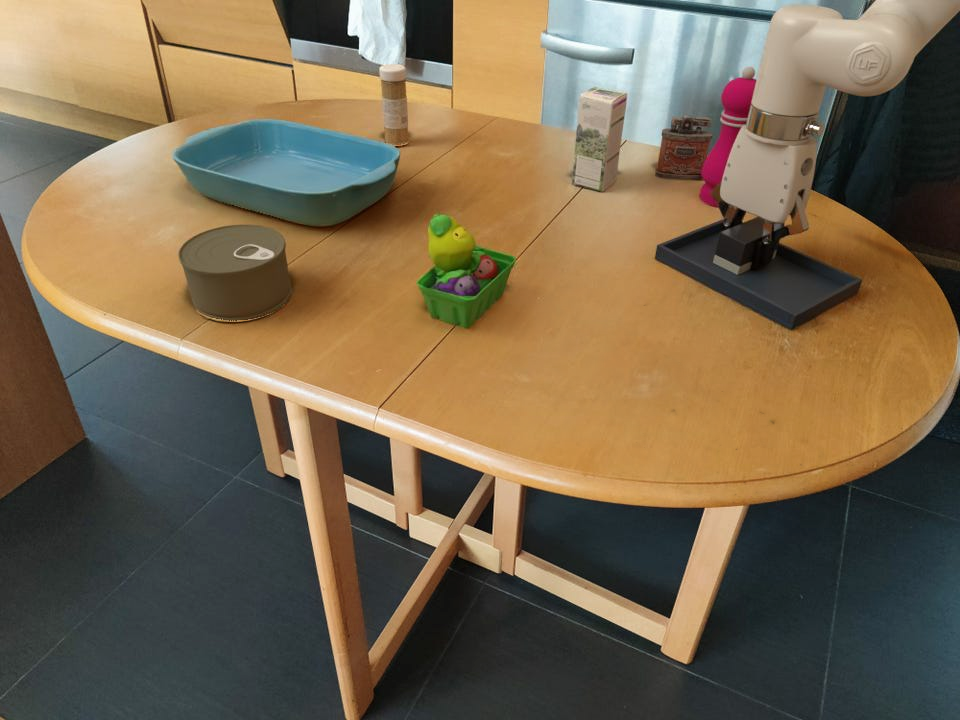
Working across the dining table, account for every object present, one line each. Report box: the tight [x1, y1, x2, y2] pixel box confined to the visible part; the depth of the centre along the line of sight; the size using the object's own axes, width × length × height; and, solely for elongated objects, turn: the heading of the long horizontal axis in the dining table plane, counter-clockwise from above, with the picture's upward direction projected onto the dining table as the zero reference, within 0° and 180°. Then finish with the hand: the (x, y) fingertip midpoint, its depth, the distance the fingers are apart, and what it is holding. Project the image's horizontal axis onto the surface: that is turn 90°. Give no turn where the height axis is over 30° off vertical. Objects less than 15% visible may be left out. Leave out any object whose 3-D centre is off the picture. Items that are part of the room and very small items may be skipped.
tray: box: [654, 218, 864, 331], centre depth 93 cm, size 21×14×2 cm
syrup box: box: [571, 86, 628, 193], centre depth 113 cm, size 6×6×14 cm
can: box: [177, 224, 292, 321], centre depth 85 cm, size 12×12×7 cm
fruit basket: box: [416, 213, 517, 330], centre depth 83 cm, size 11×9×11 cm
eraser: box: [713, 216, 781, 275], centre depth 94 cm, size 4×8×4 cm, turn 127°
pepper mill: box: [699, 66, 757, 208], centre depth 107 cm, size 7×7×20 cm
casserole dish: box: [171, 118, 401, 228], centre depth 110 cm, size 37×22×7 cm, turn 61°
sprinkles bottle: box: [378, 63, 410, 145], centre depth 127 cm, size 5×5×13 cm
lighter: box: [654, 114, 714, 182], centre depth 117 cm, size 8×3×10 cm, turn 82°
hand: (744, 258), depth 95 cm, fingers closed on eraser, 4 cm apart
